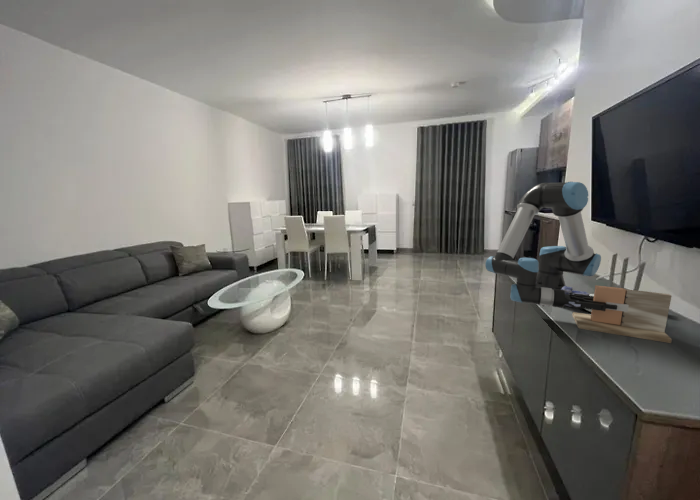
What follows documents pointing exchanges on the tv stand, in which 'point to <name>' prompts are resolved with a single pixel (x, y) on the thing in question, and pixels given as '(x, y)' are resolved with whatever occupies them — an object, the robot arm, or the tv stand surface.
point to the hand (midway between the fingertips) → (626, 306)
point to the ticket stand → (635, 317)
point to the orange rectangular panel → (605, 296)
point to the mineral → (569, 290)
